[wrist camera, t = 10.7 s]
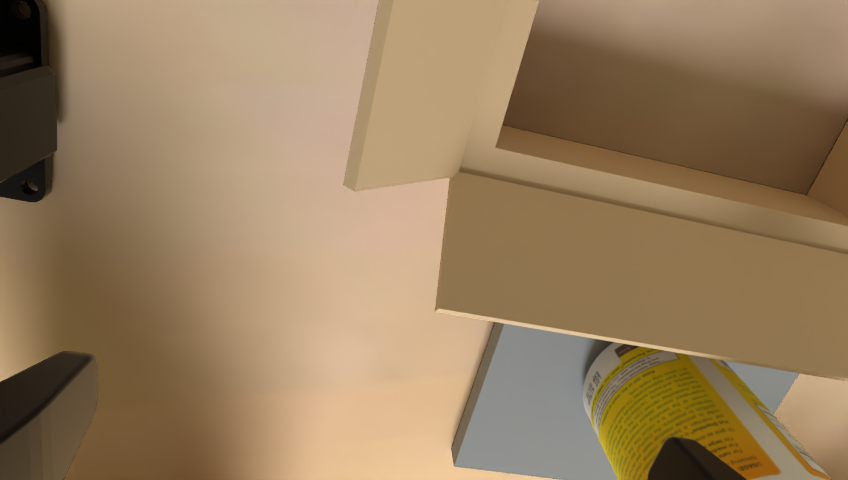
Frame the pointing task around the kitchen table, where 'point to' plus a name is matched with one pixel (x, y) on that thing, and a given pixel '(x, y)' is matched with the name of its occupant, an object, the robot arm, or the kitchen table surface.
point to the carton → (594, 210)
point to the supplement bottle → (686, 414)
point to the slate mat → (552, 406)
